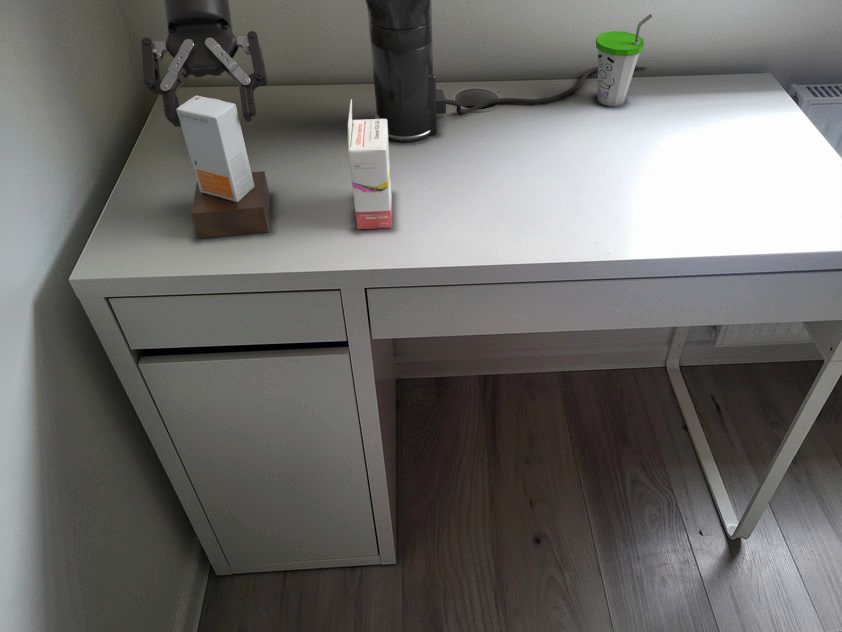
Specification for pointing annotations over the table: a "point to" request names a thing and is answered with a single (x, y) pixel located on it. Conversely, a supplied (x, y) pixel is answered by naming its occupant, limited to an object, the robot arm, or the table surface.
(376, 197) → the ink cartridge box
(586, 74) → the robot arm
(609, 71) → the cup
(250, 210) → the block
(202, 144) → the cosmetic box
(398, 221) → the table surface
